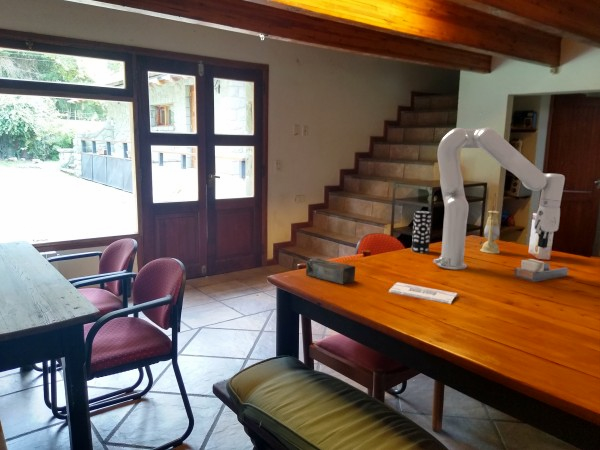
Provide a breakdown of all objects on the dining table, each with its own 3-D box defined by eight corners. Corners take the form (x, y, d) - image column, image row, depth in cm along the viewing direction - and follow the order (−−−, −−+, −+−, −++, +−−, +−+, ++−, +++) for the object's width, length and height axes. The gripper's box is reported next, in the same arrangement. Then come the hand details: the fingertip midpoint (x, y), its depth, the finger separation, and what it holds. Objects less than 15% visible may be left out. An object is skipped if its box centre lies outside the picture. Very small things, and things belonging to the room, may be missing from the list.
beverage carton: (317, 271, 189) (318, 256, 188) (355, 281, 177) (356, 265, 176) (305, 275, 183) (305, 259, 182) (343, 285, 171) (344, 268, 170)
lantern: (480, 248, 240) (485, 191, 235) (500, 250, 235) (506, 192, 230) (477, 252, 230) (482, 193, 225) (498, 255, 225) (504, 194, 220)
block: (533, 278, 182) (535, 263, 181) (520, 274, 187) (521, 260, 186) (542, 276, 185) (544, 262, 184) (529, 272, 190) (530, 258, 189)
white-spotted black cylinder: (427, 249, 233) (429, 211, 230) (430, 253, 225) (432, 213, 222) (410, 249, 234) (413, 210, 231) (412, 252, 226) (415, 212, 223)
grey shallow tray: (534, 281, 180) (535, 273, 180) (514, 276, 188) (514, 268, 188) (567, 275, 191) (568, 267, 190) (546, 270, 199) (547, 262, 198)
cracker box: (551, 260, 217) (556, 217, 213) (537, 259, 218) (542, 216, 214) (540, 253, 230) (545, 212, 227) (527, 253, 231) (532, 212, 228)
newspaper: (458, 296, 163) (459, 289, 162) (450, 309, 153) (450, 302, 152) (397, 284, 174) (397, 278, 174) (386, 296, 164) (386, 289, 164)
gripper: (547, 205, 180) (539, 250, 184) (569, 205, 188) (561, 248, 191) (529, 202, 187) (522, 245, 190) (552, 202, 194) (544, 244, 197)
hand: (542, 246), depth 191 cm, fingers closed
